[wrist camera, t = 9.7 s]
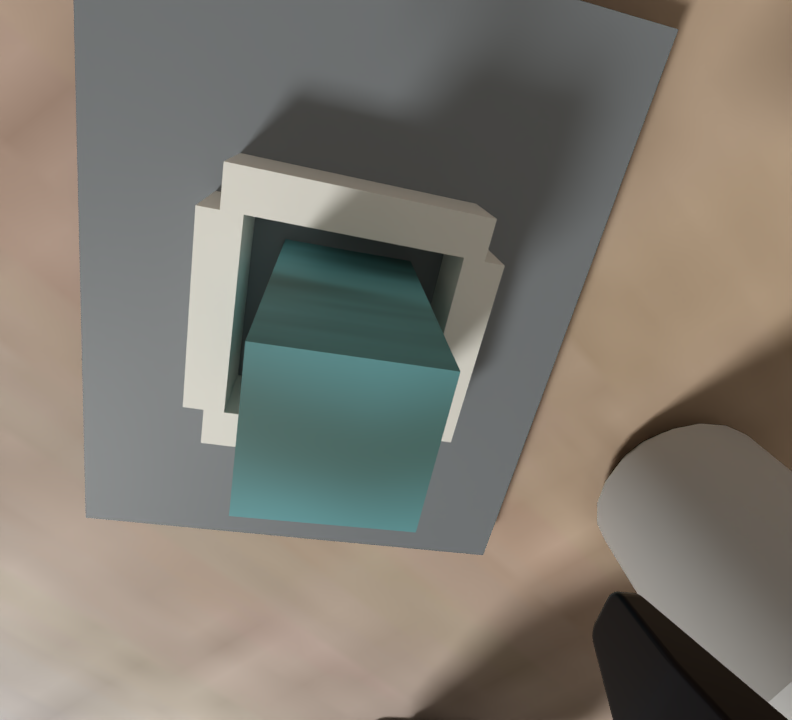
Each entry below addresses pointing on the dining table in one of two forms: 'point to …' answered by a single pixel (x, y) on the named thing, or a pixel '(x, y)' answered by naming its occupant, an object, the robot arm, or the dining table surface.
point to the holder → (337, 217)
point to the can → (711, 546)
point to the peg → (341, 393)
